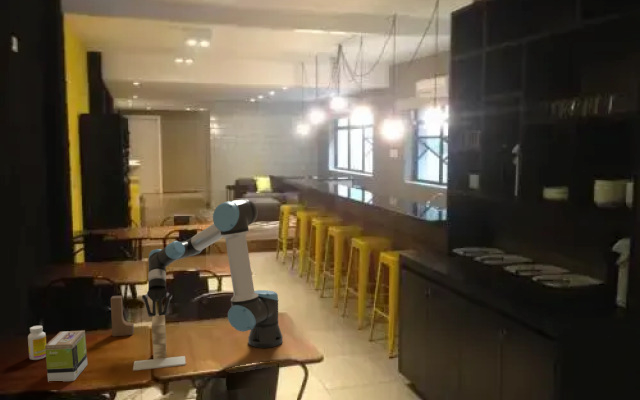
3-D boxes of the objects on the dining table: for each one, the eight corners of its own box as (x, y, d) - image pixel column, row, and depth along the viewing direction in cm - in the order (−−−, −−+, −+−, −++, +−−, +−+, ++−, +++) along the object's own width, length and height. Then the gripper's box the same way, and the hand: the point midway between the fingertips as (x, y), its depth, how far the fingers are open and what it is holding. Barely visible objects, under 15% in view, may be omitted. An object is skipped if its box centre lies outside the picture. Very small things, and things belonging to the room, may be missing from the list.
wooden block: (134, 332, 258) (132, 294, 256) (132, 335, 253) (131, 297, 251) (113, 333, 256) (112, 295, 254) (112, 336, 251) (110, 298, 249)
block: (166, 348, 232) (164, 314, 228) (166, 359, 225) (164, 324, 220) (154, 349, 231) (152, 316, 226) (153, 360, 224) (151, 325, 219)
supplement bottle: (50, 355, 230) (49, 325, 228) (38, 361, 224) (36, 330, 222) (38, 353, 232) (36, 324, 231) (25, 359, 226) (23, 329, 224)
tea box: (62, 366, 219) (60, 330, 217) (88, 365, 219) (86, 329, 218) (46, 382, 204) (44, 344, 202) (74, 381, 205) (72, 343, 203)
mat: (185, 357, 227) (185, 355, 227) (185, 364, 219) (185, 363, 219) (134, 362, 222) (134, 361, 222) (133, 370, 214) (132, 369, 214)
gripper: (172, 284, 249) (173, 333, 234) (142, 286, 245) (141, 335, 231) (172, 276, 243) (173, 325, 229) (141, 278, 240) (140, 327, 225)
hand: (157, 330), depth 230 cm, fingers closed
